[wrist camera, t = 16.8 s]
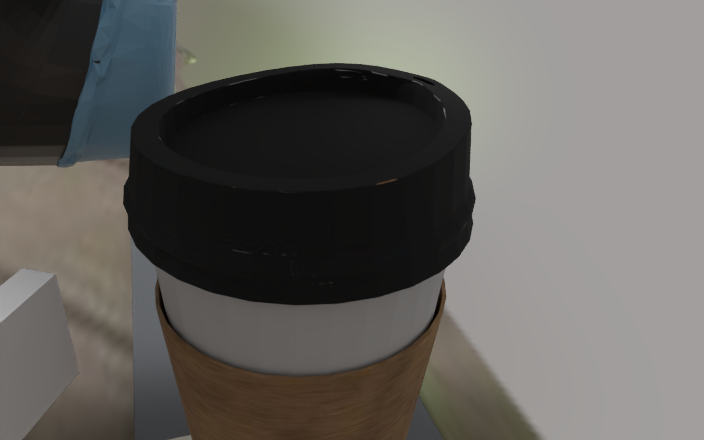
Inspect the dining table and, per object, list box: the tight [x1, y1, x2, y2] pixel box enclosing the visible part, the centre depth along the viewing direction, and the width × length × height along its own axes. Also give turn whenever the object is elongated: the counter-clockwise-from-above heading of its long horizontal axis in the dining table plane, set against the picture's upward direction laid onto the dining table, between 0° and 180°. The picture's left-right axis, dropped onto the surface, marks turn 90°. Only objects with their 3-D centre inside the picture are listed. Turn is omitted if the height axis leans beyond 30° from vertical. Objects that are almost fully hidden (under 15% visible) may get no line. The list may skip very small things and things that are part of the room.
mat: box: [131, 237, 443, 440], centre depth 30 cm, size 32×12×1 cm, turn 19°
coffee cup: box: [123, 63, 475, 440], centre depth 17 cm, size 8×8×15 cm
